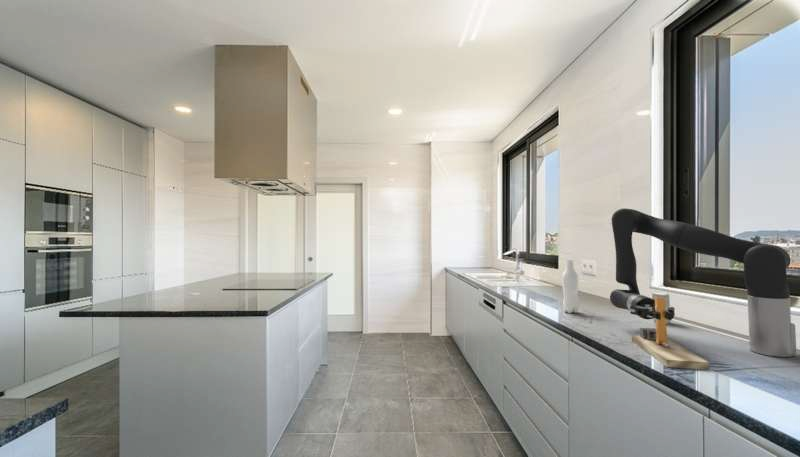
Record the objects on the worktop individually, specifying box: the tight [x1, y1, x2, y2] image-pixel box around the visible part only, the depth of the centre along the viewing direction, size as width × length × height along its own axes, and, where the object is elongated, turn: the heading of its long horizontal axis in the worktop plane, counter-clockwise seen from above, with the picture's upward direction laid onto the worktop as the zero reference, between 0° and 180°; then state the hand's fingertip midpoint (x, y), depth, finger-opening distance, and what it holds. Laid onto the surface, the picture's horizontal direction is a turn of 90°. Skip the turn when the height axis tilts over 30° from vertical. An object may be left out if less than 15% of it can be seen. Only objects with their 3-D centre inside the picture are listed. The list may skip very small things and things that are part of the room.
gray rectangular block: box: [639, 327, 656, 340], centre depth 121 cm, size 6×6×3 cm
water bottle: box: [561, 259, 580, 314], centre depth 175 cm, size 7×7×25 cm
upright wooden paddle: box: [647, 297, 670, 348], centre depth 116 cm, size 4×10×15 cm, turn 166°
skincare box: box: [651, 292, 672, 324], centre depth 152 cm, size 6×4×12 cm
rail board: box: [631, 335, 710, 370], centre depth 112 cm, size 10×26×2 cm, turn 166°
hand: (665, 316), depth 112 cm, fingers closed on upright wooden paddle, 2 cm apart
